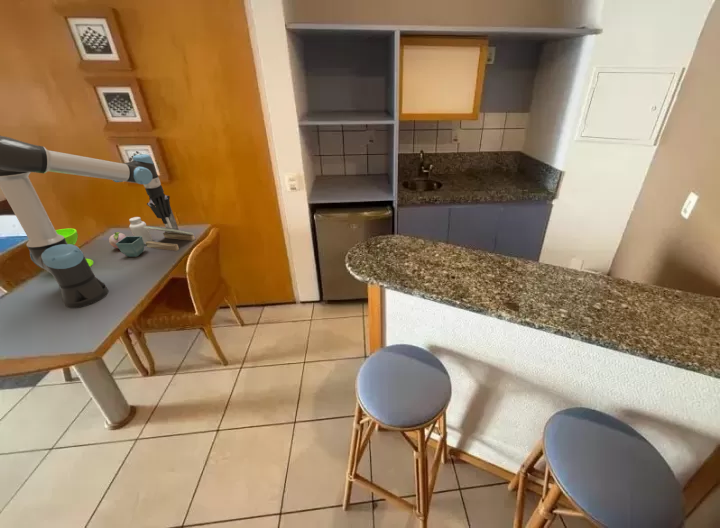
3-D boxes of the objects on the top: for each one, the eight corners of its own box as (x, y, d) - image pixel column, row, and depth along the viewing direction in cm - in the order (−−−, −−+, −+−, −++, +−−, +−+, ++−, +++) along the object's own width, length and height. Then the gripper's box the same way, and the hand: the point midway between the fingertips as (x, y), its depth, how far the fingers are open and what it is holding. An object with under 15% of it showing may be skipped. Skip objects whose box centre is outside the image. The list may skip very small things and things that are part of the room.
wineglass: (99, 257, 164) (83, 226, 155) (83, 273, 151) (64, 240, 141) (65, 261, 161) (46, 230, 152) (45, 277, 148) (23, 244, 139)
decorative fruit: (113, 247, 174) (105, 231, 169) (130, 243, 178) (122, 227, 173) (113, 254, 167) (105, 237, 162) (131, 249, 171) (124, 233, 166)
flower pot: (138, 258, 162) (131, 243, 157) (122, 258, 162) (114, 243, 158) (148, 250, 170) (142, 236, 165) (133, 250, 170) (126, 236, 165)
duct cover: (173, 230, 165) (173, 228, 165) (144, 227, 170) (144, 225, 170) (193, 234, 179) (193, 232, 179) (165, 231, 184) (165, 229, 184)
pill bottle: (137, 241, 180) (126, 217, 172) (152, 238, 183) (143, 214, 176) (137, 246, 174) (126, 222, 166) (153, 243, 178) (143, 219, 170)
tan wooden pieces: (176, 250, 168) (164, 220, 159) (147, 247, 173) (134, 217, 164) (201, 235, 185) (192, 206, 176) (174, 232, 190) (164, 204, 181)
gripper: (148, 190, 151) (165, 233, 163) (168, 182, 162) (183, 224, 174) (136, 189, 153) (154, 232, 165) (157, 182, 163) (172, 223, 176)
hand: (169, 228), depth 169 cm, fingers closed
